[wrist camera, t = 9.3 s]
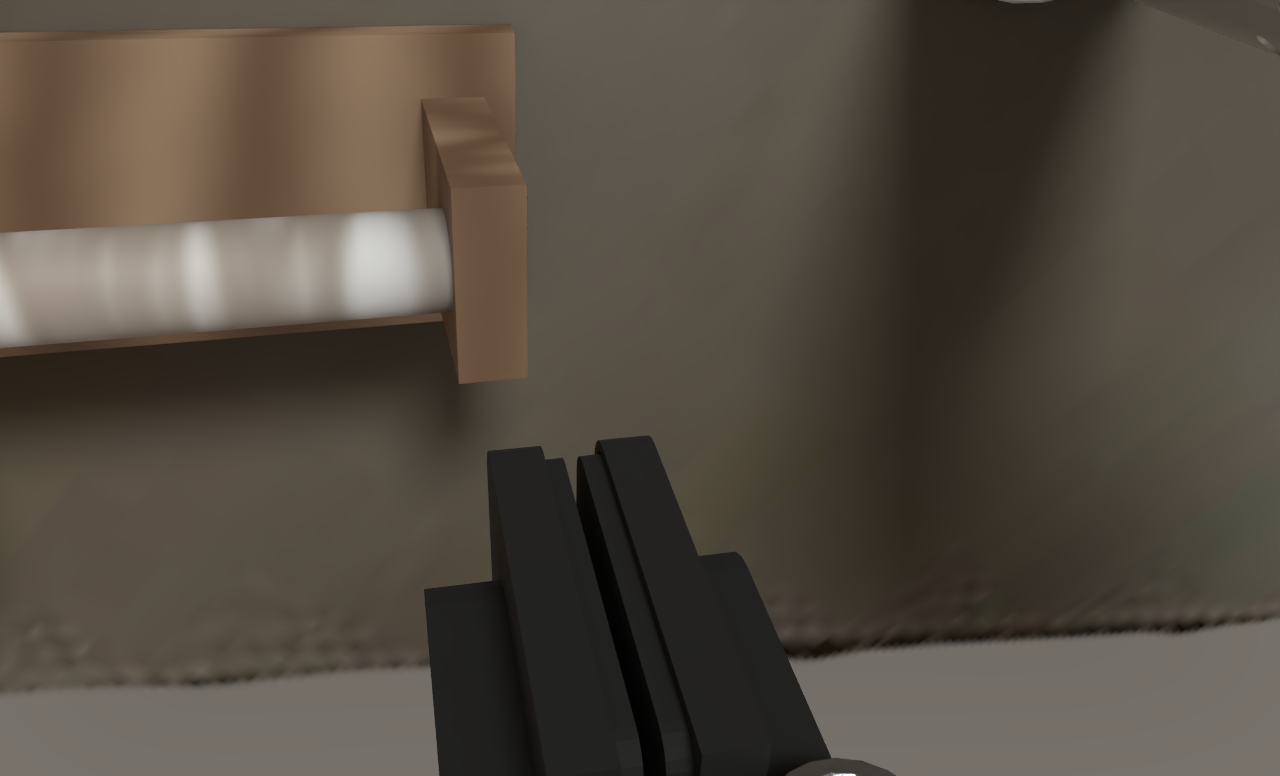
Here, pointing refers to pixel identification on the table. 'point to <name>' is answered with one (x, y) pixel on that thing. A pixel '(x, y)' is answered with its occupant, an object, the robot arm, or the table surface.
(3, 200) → the pipe stand
